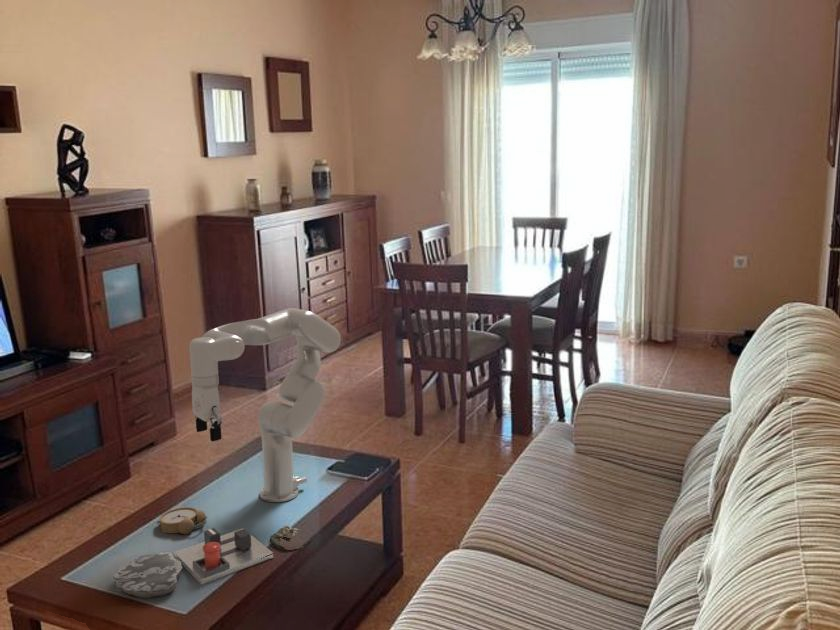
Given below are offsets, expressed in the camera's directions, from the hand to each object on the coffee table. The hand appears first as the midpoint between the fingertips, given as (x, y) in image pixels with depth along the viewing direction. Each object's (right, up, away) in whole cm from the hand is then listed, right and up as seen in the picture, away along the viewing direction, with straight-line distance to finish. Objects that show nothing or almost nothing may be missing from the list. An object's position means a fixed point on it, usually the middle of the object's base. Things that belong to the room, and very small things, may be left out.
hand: (208, 435), depth 222 cm
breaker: (+13, -29, -11) cm, 34 cm away
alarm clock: (-9, -29, +4) cm, 30 cm away
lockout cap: (+7, -32, -21) cm, 39 cm away
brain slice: (-9, -35, -25) cm, 44 cm away
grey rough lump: (+25, -30, -4) cm, 40 cm away
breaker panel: (+8, -32, -13) cm, 35 cm away
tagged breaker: (+4, -29, -10) cm, 31 cm away
